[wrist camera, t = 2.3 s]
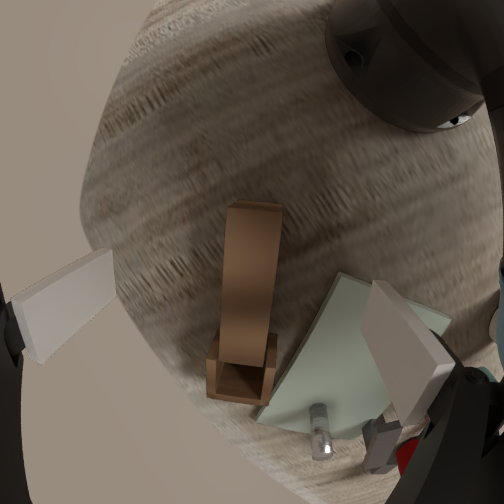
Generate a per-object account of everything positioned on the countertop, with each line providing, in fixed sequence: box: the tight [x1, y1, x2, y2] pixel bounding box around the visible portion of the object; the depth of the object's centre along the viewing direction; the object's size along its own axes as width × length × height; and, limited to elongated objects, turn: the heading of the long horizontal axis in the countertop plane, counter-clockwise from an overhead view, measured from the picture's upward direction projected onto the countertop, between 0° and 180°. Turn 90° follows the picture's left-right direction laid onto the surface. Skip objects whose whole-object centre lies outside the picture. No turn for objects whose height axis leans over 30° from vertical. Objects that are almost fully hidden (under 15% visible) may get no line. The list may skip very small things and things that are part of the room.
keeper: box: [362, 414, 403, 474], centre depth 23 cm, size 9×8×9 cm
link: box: [206, 200, 283, 406], centre depth 22 cm, size 17×6×5 cm, turn 175°
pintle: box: [309, 403, 333, 461], centre depth 23 cm, size 2×2×7 cm
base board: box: [256, 271, 451, 440], centre depth 25 cm, size 20×14×1 cm
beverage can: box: [395, 437, 420, 476], centre depth 24 cm, size 7×7×12 cm
